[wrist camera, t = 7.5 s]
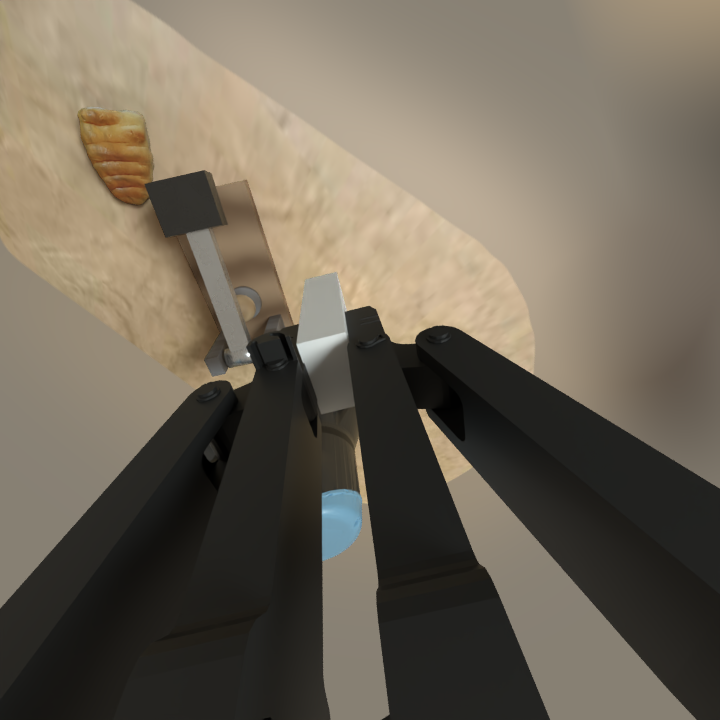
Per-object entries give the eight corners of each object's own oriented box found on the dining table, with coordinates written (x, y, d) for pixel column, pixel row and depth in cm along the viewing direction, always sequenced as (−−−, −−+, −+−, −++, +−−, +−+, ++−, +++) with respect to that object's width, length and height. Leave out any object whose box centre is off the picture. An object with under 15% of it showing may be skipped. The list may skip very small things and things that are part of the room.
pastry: (168, 203, 42) (155, 207, 39) (110, 203, 41) (92, 206, 38) (146, 109, 37) (129, 104, 34) (80, 107, 37) (56, 101, 33)
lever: (272, 355, 43) (269, 363, 41) (226, 365, 43) (220, 373, 41) (213, 174, 35) (204, 170, 33) (157, 186, 35) (144, 183, 33)
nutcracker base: (294, 327, 51) (287, 366, 41) (229, 341, 51) (207, 383, 41) (246, 179, 41) (223, 184, 31) (166, 197, 41) (117, 208, 31)
